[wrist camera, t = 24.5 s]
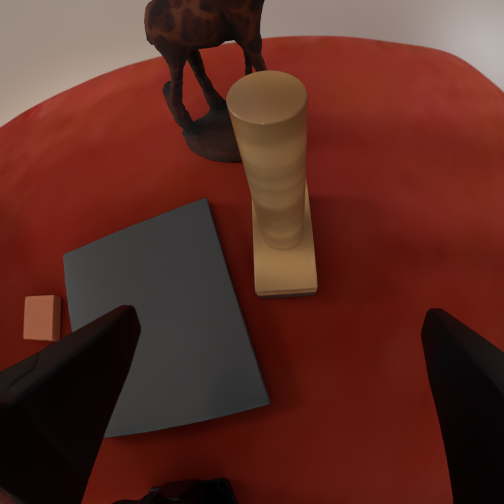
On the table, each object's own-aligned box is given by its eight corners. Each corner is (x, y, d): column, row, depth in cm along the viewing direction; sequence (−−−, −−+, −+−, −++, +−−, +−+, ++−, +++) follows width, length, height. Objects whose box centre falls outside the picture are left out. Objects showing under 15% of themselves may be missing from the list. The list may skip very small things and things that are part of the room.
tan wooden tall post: (315, 295, 23) (345, 188, 9) (259, 299, 23) (203, 199, 9) (305, 195, 25) (307, 32, 11) (255, 199, 26) (214, 41, 12)
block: (60, 342, 24) (52, 340, 23) (31, 340, 24) (23, 338, 23) (62, 297, 25) (53, 294, 24) (33, 299, 26) (25, 296, 25)
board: (271, 401, 21) (270, 403, 20) (103, 436, 21) (97, 438, 20) (209, 202, 26) (206, 197, 25) (69, 258, 26) (62, 254, 26)
